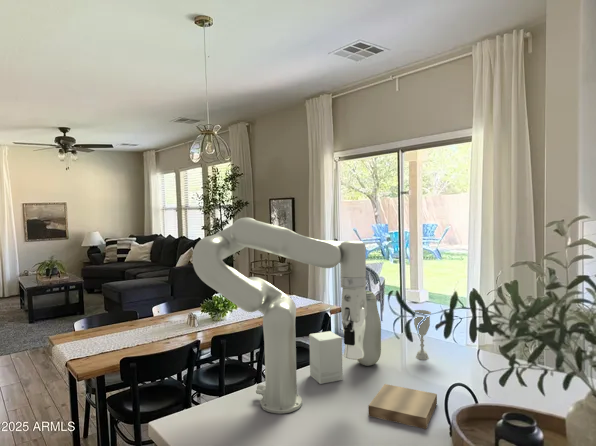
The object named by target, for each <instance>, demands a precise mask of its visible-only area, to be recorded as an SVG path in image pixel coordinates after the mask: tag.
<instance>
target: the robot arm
mask: <svg viewBox="0 0 596 446" xmlns="http://www.w3.org/2000/svg"><path fill="white" fill-rule="evenodd" d="M245 248H249V249H253V250H257V251H260V252H261V251H262V252H266V253H269V254H273V255H276V256H280V257H283V258H285V259H289V260H293V261H296V262H300V263H301V264H306V265H310V266H314V267H317V268H322V269H332V268H335V267H336V266H337V265H338V264H340V288H342V290H341V308H340V310H341V311H340V312H341V324H343V326H342V330H344V333H343V344H344V345H345V344H346V345H353V346H354V345H355V332H353V331H354V322H355V323H358V322H359V321H360V312H361V308H363V307H365V317H366V316H367V301H366V291H367V290H366V287H367V276H366V275H367V273H366V272H367V270H366V269H367V268H366V265H367V264H366V263H367V262H366V252H367V251H366V244H365V242H363V241H361V240H345V241H340V240H339V241H338V240H332V239H331V240H330V239H326V240H321V239H316V238H312V237H309V236H305V235H302V234H299V233H298V232H297V233H296V232H295V231H293V230H291V229H289V228H286V227H284V226H280V225H276V224H271V223H268V222H264V221H259V220H256V219H254V218H253V217H240V218H238V219H236V220H235V221H234V222H233V223H232V225H230V226H228V227H225V228H224V229H222V230H221V231H219V232H217V233H215V234H212V235H208V236H204V237H203V238H201V239H199V241H197V242H196V244H195V246H194V248H193V251H192V266H193V270H194V272H195V274H196V275H197V277H199V279H200V280H201V281H202V282H203V283H204V284H206V285H207V286H208V287H210V288H211V289H213V290H215V291H216V292H217V293H218V294H220V295H222V296H223V297H224V298H226V299H227V300H228V301H230V302H231V303H233V305H236V306H237V307H238V308H240V309H241V310H242V311H244V312H246V313H255V312H260V313H262V314H263V318H262V331H263V341H264V342H263V343H264V345H263V346H264V372H265V373H264V377H265V379H264V380H265V382H264V383H265V385H264V384H260V383H259V384H257V386H256V390H255V393H256V394H257V395H260V396H262V398H261V400H260V406H261V408H262V410H264V411H266V412H268V413H270V414H271V413H272V414H280V415H281V414H288V413H292V412H295V411H297V410H299V409H300V408H301V407H302V404H303V399H302V397H301V395H299V394H298V393H297V392H298V391H297V390H298V389H297V387H298V386H297V384H298V383H297V379H298V378H297V348H296V347H297V346H296V344H297V343H296V342H297V341H296V338H297V337H296V317H297V306H296V304H295V302H294V300H293V299H292V298H291V297H290V296H289V295H287V293H284V292H283V291H282V290H280V289H278V288H277V287H275V286H274V284H271V283H270V282H268V281H267V280H265V279H263V278H262V277H258V276H250V277H247V276H245V275H244V274H243V273H241V272H240V271H238V270H237V269H235V268H234V267H232V266H231V265H230V266H229V265H228V264H226V263H225V262H224V261H223V260H225V259H226V258H227V259H228V257H230V256H232V255H234V254H235V253H237V252H239V251H241V250H243V249H245ZM349 315H350V316H351V319H352V321H349V320H348V319H349ZM348 323H351V326H350V324H348ZM343 328H344V329H343Z"/></svg>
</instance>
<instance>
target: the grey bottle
mask: <svg viewBox="0 0 596 446" xmlns="http://www.w3.org/2000/svg"><path fill="white" fill-rule="evenodd" d="M366 301H367V316H366V317H365V332H364V337H363V351H364V357H363V358H362V359H356V360H357V362H358V363H359V364H360V365H362V366H369V367H370V366H373V365H376V364H377V363H378V361H380V358H381V355H382V354H381V353H382V324H381V323H382V322H381V316H380V313H379V309H378V304H377V303H378V302H377V301H378V300H377V296H376V294H375V293H374V292H372V290H371V291H370V290H366Z"/></svg>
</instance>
